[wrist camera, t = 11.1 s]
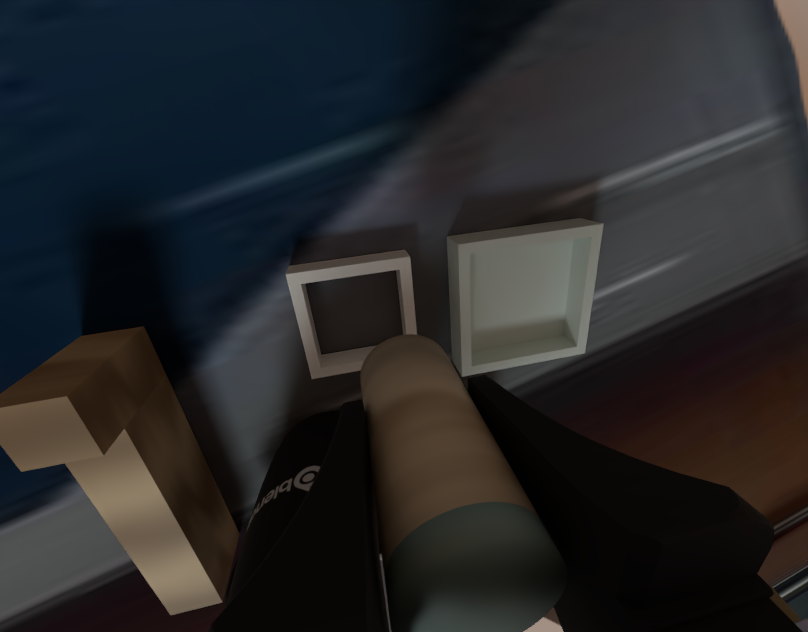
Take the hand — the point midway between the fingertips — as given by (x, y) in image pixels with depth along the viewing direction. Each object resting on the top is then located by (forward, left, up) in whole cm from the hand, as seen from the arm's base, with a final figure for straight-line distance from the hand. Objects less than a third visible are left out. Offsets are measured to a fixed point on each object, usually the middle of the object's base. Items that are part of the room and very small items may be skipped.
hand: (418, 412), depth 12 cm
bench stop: (-8, +14, -9) cm, 18 cm away
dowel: (0, 0, -2) cm, 2 cm away
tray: (0, -8, -9) cm, 12 cm away
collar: (0, +2, -9) cm, 10 cm away
